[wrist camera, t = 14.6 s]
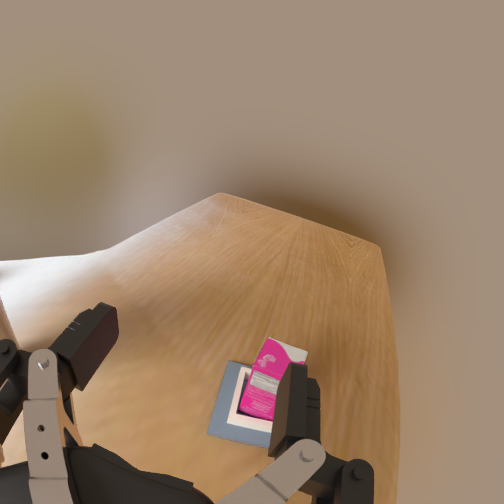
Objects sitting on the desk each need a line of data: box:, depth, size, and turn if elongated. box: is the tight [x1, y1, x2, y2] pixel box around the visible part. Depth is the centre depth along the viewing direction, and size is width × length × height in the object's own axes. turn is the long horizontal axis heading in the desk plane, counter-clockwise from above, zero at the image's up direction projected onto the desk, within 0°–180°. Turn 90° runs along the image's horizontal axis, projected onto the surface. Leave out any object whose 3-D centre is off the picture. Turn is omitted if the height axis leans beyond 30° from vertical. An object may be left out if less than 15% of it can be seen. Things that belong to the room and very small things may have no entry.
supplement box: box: [238, 337, 308, 422], centre depth 35 cm, size 6×6×12 cm
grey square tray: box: [207, 361, 273, 448], centre depth 38 cm, size 14×14×3 cm
